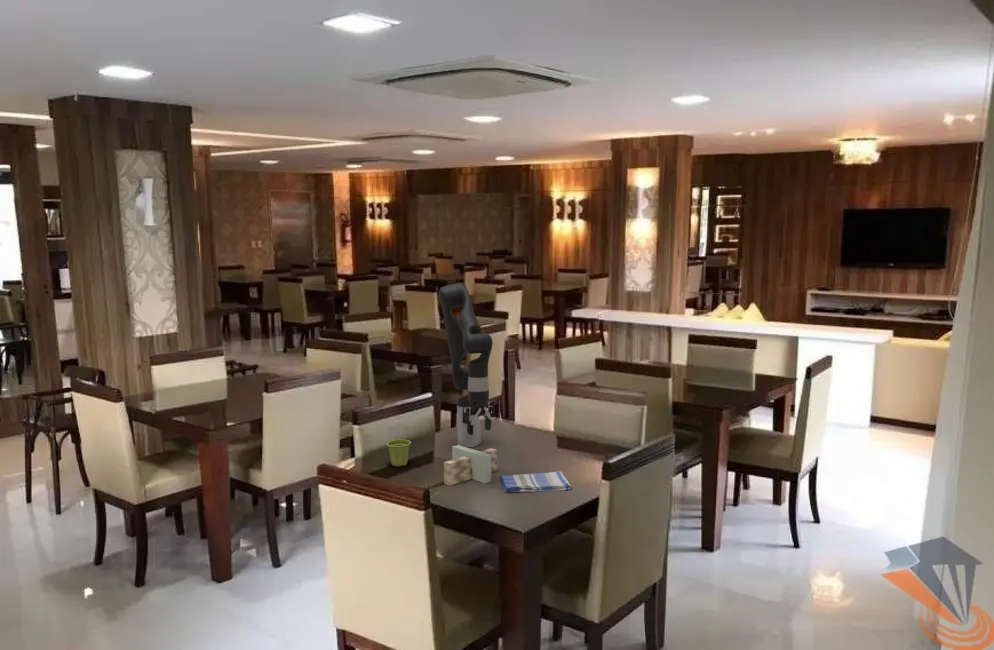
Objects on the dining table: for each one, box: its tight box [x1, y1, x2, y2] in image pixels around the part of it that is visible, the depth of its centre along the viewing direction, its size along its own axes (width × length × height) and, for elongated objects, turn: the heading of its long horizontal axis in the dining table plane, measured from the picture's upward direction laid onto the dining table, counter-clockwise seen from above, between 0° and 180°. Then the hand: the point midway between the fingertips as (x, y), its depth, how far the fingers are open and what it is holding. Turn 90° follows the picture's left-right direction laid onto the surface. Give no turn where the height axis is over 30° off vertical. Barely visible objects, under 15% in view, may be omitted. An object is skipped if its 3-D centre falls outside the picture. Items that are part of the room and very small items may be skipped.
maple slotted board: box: [443, 448, 498, 486], centre depth 270 cm, size 24×3×8 cm, turn 135°
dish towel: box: [499, 470, 572, 494], centre depth 262 cm, size 17×24×3 cm
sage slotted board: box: [451, 444, 492, 484], centre depth 270 cm, size 3×18×10 cm, turn 44°
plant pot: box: [386, 439, 412, 467], centre depth 287 cm, size 9×9×9 cm
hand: (479, 432), depth 266 cm, fingers open, 8 cm apart
